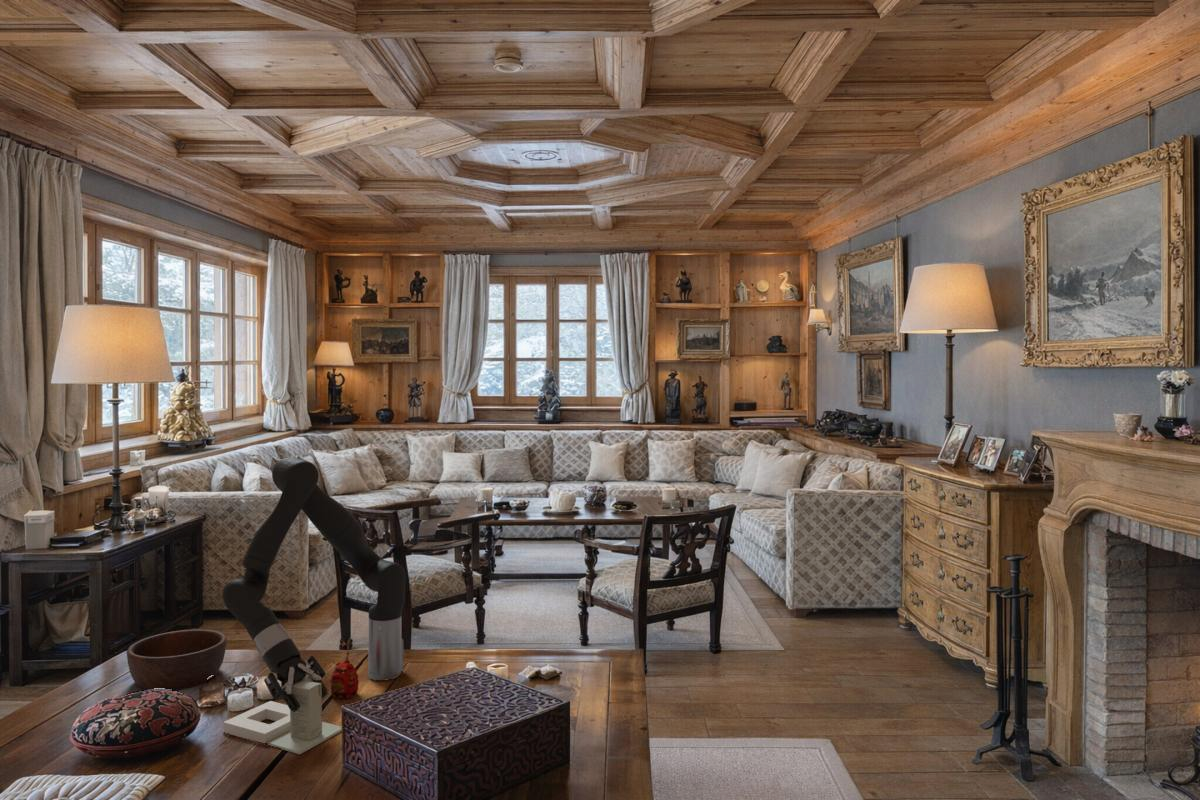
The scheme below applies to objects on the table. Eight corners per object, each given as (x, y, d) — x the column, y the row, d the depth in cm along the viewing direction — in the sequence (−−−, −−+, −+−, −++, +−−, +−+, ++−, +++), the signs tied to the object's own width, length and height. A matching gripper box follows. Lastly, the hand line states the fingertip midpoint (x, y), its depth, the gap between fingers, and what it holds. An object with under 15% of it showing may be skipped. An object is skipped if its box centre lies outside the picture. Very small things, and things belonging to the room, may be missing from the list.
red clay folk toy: (324, 698, 206) (325, 643, 206) (340, 688, 213) (340, 635, 213) (349, 702, 204) (349, 646, 204) (364, 692, 211) (364, 637, 211)
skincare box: (323, 733, 184) (323, 683, 184) (309, 741, 180) (309, 689, 180) (302, 728, 187) (302, 678, 187) (288, 736, 183) (288, 685, 183)
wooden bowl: (157, 703, 202) (157, 664, 202) (108, 683, 215) (108, 646, 215) (244, 673, 224) (244, 638, 223) (195, 657, 237) (195, 623, 237)
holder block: (270, 710, 199) (270, 700, 198) (310, 721, 193) (310, 711, 193) (223, 732, 186) (223, 722, 186) (264, 744, 180) (264, 733, 180)
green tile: (313, 721, 192) (313, 719, 192) (344, 729, 188) (344, 727, 188) (268, 745, 179) (268, 742, 179) (299, 754, 175) (299, 751, 175)
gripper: (260, 647, 180) (296, 705, 175) (307, 630, 193) (341, 683, 188) (244, 666, 182) (279, 723, 178) (291, 647, 195) (325, 701, 191)
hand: (311, 702), depth 183 cm, fingers open, 8 cm apart
